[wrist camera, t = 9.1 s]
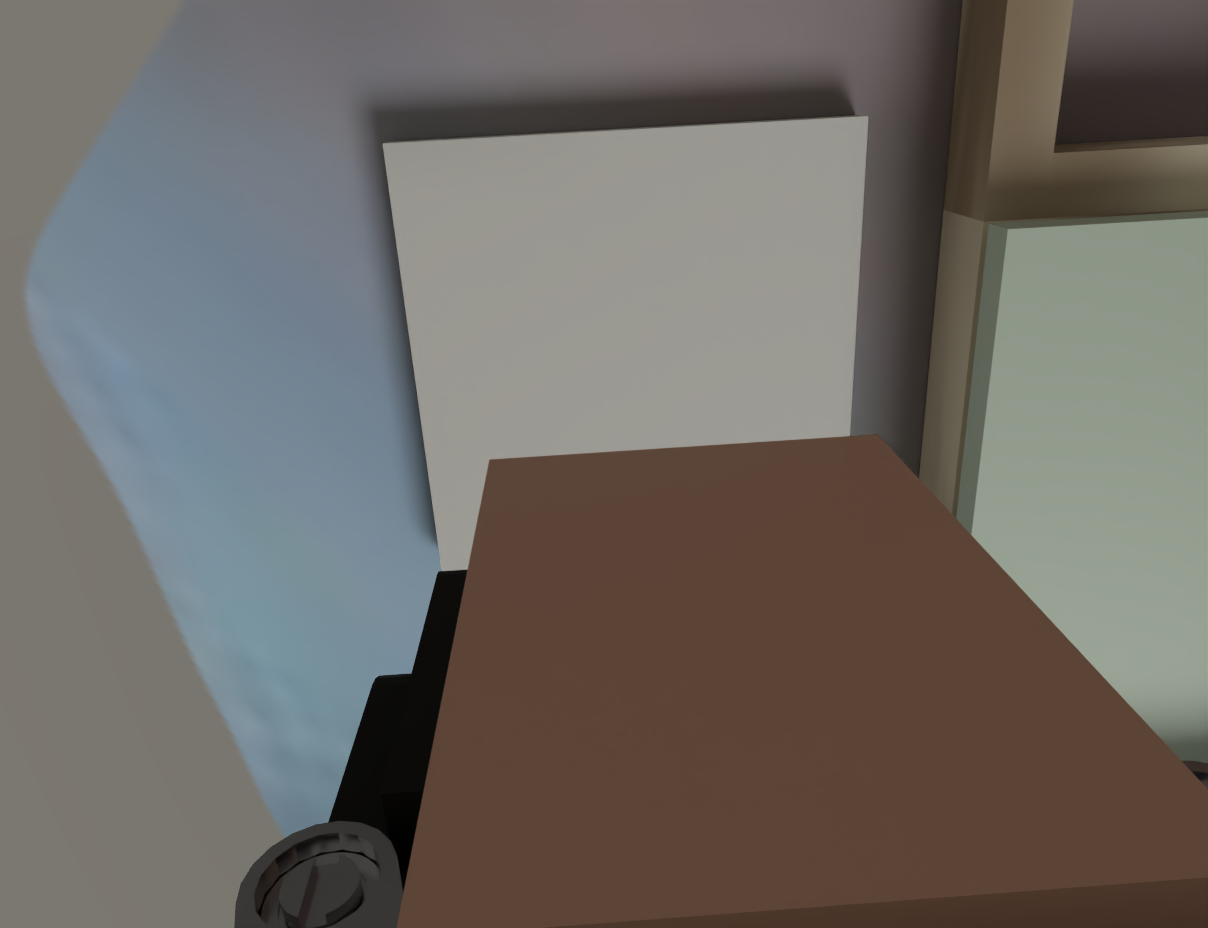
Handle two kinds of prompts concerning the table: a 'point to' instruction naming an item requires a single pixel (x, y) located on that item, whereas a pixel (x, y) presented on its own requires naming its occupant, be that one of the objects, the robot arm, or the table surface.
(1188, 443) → the sliding lid
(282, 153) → the table surface
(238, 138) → the table surface
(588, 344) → the grey mat
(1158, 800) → the terracotta block
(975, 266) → the well frame
